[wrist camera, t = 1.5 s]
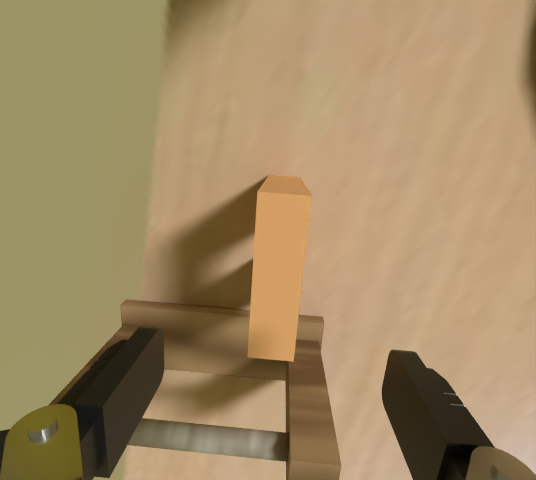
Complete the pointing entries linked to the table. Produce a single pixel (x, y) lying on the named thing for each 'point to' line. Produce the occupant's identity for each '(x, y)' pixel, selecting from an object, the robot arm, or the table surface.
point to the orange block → (278, 267)
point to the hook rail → (238, 364)
